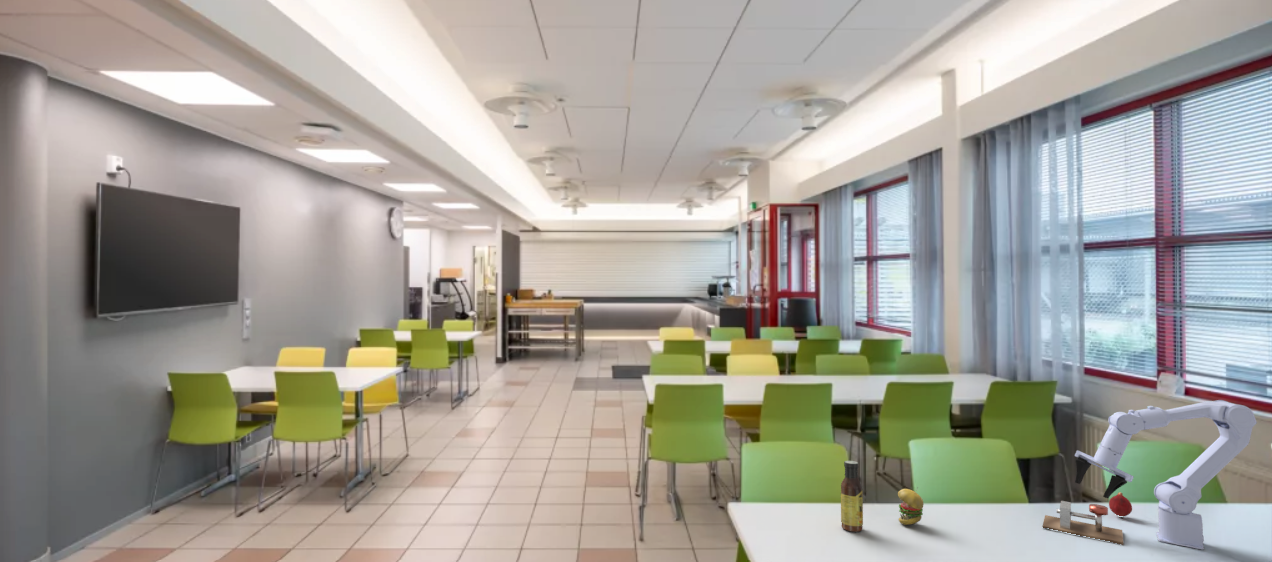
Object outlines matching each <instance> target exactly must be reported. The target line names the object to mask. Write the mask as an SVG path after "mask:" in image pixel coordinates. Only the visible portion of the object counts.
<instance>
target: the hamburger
mask: <svg viewBox="0 0 1272 562" xmlns="http://www.w3.org/2000/svg"><path fill="white" fill-rule="evenodd" d="M918 488H919V486H917V488H916V489H915V491H914V490H912V489H910V488H901V489H900V490H898V492H897V496H898V498H899V502H901V501H902V502H901V503H900V504H899V503H898V507H899V510H898V513H899V512H900V513H899V514H900V517H899V518H898V522H899V523H900V524H902V525H905V526H909V525H910V526H911V525H914V524H917V523H919V522H920V521H921V520H922V516H923V514H924V513H923V509H924V508H923V507H924V500H923V498H922V496H921V495H920V494H918V493H917V491H918Z"/></svg>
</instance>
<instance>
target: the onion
mask: <svg viewBox="0 0 1272 562" xmlns="http://www.w3.org/2000/svg"><path fill="white" fill-rule="evenodd" d="M1108 507H1109V508H1108V509H1110V511H1111V513H1113V514H1114V515H1115V514H1116V515H1115V516H1117V515H1119V516H1125V517H1127V516H1129V515H1130V514H1131V513H1132V511H1133V506H1132V503H1131V501H1130V500H1129V499H1128V498H1127V497H1126V496H1124V495H1123V493H1122V492H1121V491H1120V492H1118V493H1117V494H1116V495H1114V496H1112V497H1111V498H1110V499H1109V501H1108Z"/></svg>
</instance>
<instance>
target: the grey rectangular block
mask: <svg viewBox="0 0 1272 562" xmlns="http://www.w3.org/2000/svg"><path fill="white" fill-rule="evenodd" d="M1071 504H1072V503H1071V501H1070V502H1069V501H1064V500H1061V501H1060V505H1059V509H1060V513H1059V518H1060V528H1065V529H1070V526H1071V520H1072V516H1070V511H1071V512H1072V505H1071Z"/></svg>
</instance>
